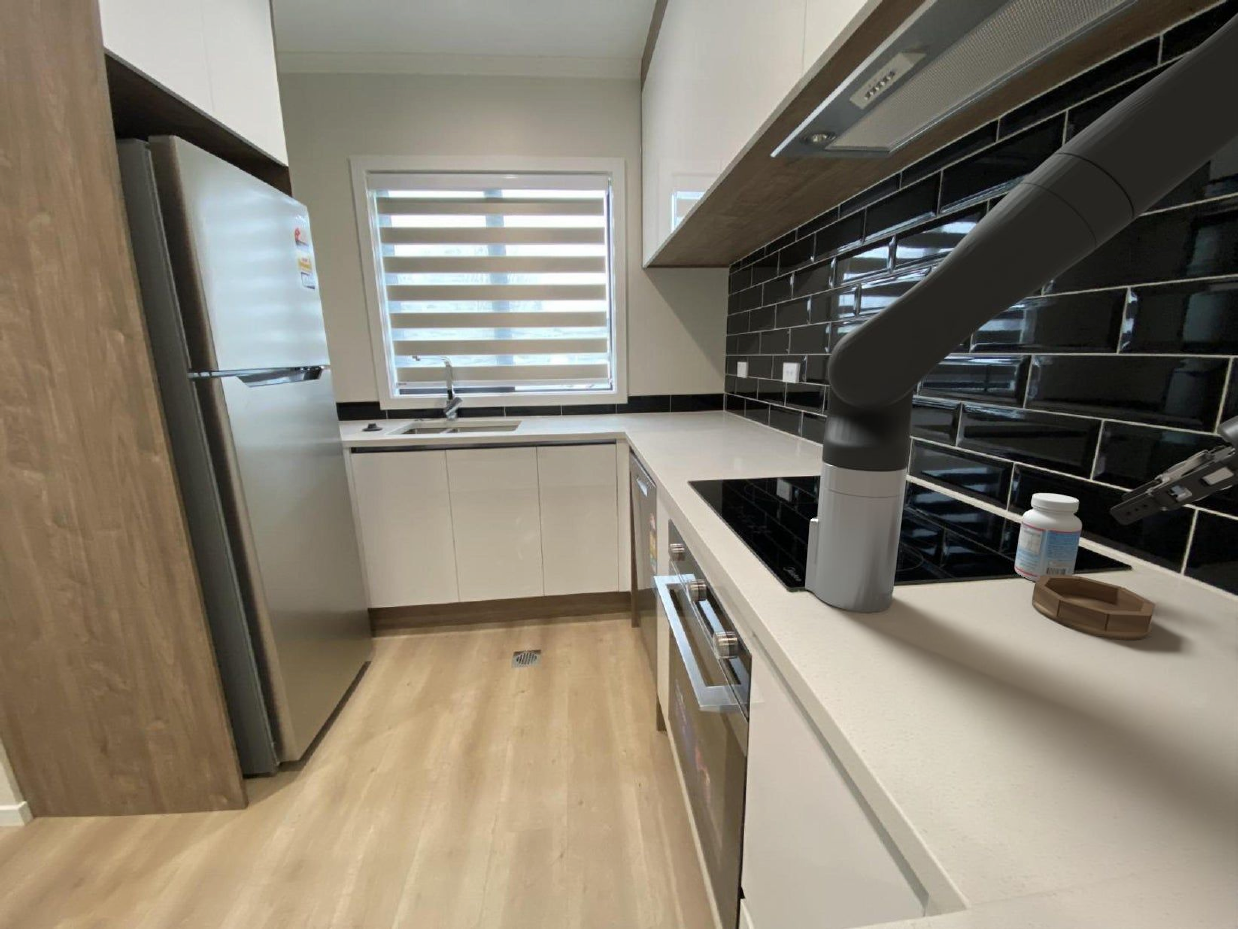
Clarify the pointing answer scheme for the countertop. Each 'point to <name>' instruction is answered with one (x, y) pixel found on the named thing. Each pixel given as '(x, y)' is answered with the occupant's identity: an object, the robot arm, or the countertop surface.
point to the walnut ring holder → (1093, 607)
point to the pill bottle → (1048, 537)
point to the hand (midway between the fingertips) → (1121, 510)
